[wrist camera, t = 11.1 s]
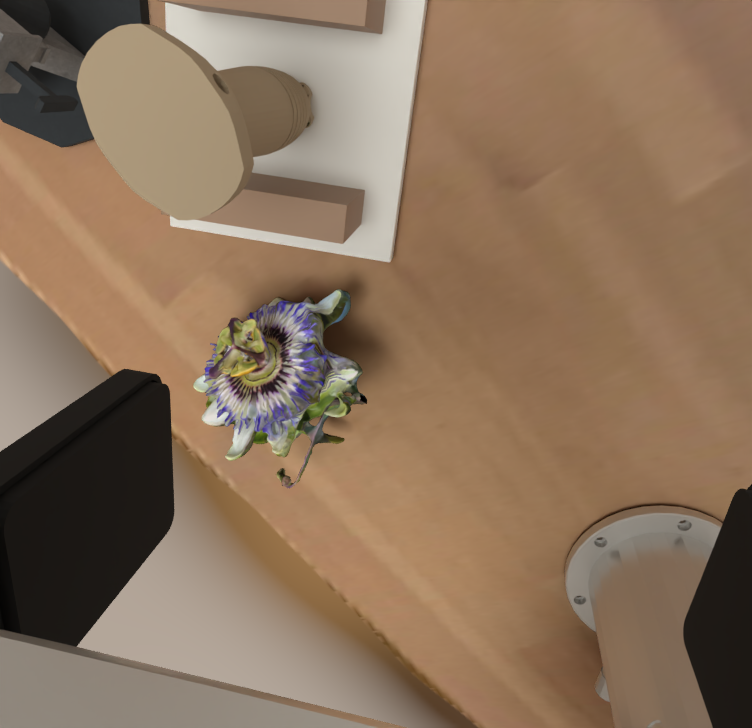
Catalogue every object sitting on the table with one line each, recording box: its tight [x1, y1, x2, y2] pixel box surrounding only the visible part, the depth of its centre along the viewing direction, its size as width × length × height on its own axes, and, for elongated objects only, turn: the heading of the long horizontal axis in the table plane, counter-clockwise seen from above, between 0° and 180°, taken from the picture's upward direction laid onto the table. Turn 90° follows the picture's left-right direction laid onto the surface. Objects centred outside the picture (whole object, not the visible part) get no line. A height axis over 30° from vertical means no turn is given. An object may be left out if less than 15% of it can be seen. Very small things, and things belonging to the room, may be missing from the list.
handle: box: [77, 24, 314, 220], centre depth 28 cm, size 5×6×15 cm
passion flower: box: [193, 289, 367, 488], centre depth 39 cm, size 11×11×12 cm
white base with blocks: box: [158, 0, 428, 262], centre depth 33 cm, size 16×14×6 cm
